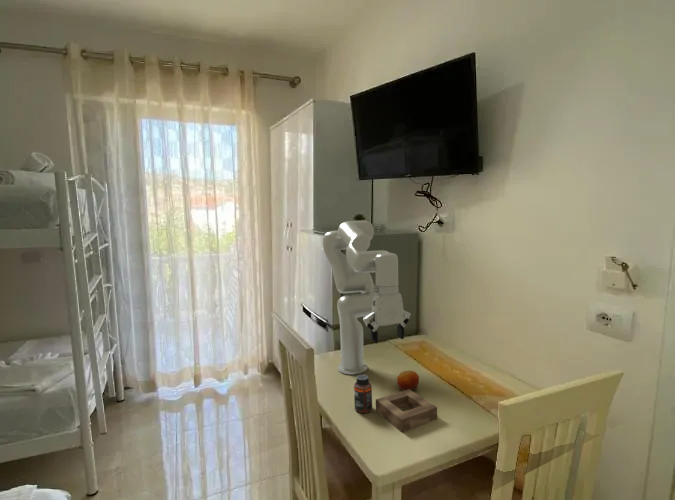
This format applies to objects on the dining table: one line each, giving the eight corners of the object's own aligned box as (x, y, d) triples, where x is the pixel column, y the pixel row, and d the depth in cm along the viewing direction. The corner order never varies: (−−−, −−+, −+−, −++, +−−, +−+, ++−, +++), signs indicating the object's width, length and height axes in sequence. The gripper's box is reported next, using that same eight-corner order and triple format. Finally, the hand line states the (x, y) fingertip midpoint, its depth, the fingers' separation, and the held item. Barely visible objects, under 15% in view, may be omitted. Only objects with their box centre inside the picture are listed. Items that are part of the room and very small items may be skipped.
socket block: (375, 410, 126) (375, 399, 125) (409, 400, 132) (409, 389, 132) (401, 432, 113) (401, 419, 113) (437, 419, 120) (437, 407, 119)
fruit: (409, 394, 134) (402, 371, 136) (398, 397, 140) (391, 375, 143) (427, 388, 137) (419, 366, 140) (415, 391, 144) (408, 370, 147)
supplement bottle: (374, 406, 129) (373, 374, 128) (369, 415, 123) (369, 382, 122) (357, 403, 131) (356, 372, 130) (352, 412, 125) (351, 379, 124)
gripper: (368, 294, 120) (369, 347, 121) (415, 289, 125) (416, 339, 127) (358, 290, 127) (359, 340, 128) (404, 285, 133) (404, 333, 134)
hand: (387, 339), depth 128 cm, fingers open, 9 cm apart
